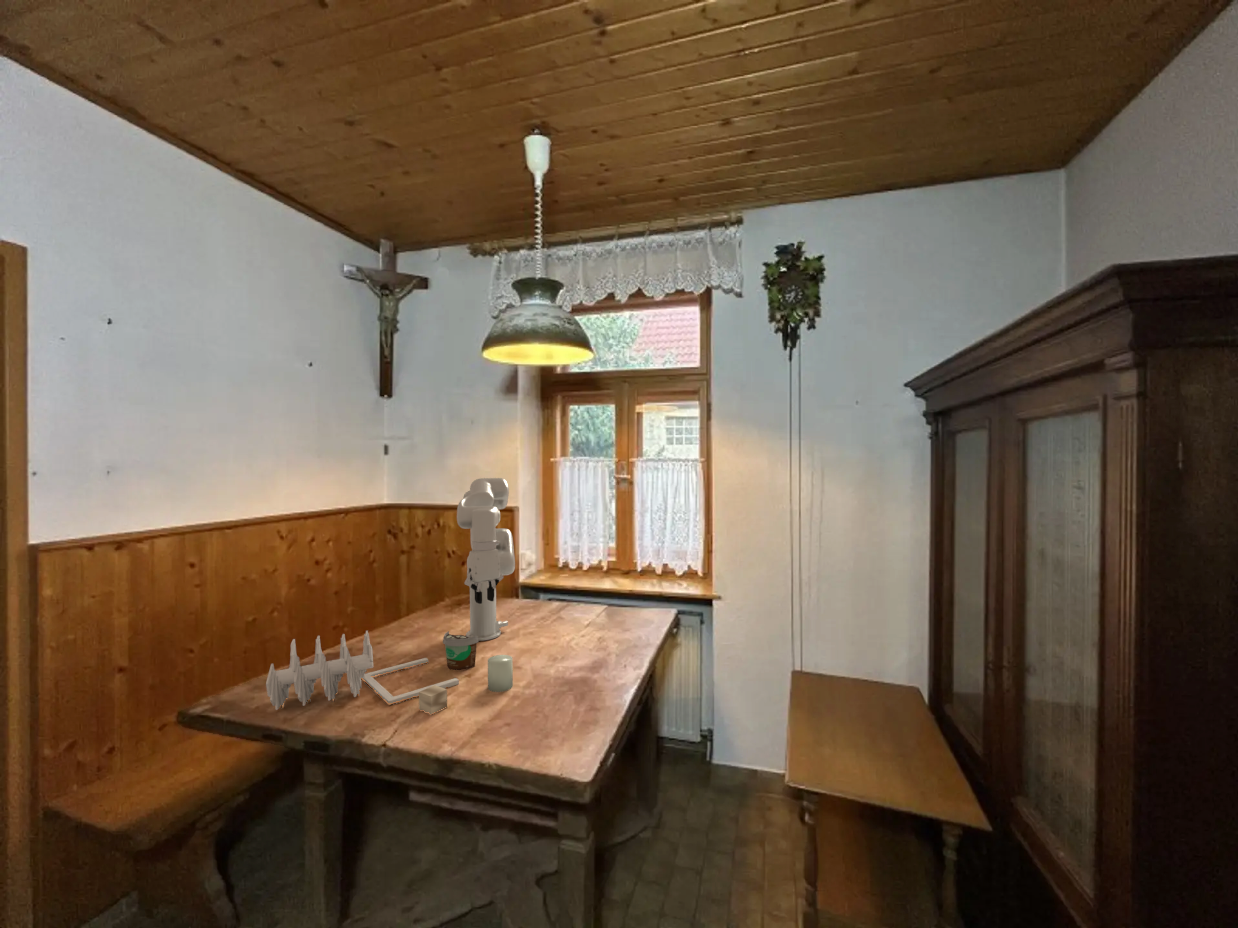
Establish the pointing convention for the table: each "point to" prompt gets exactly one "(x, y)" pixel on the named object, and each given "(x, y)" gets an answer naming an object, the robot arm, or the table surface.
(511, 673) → the pale green cylinder
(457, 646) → the food container
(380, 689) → the corral
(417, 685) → the table surface
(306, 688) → the spiral staircase
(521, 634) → the table surface
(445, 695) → the birch block
